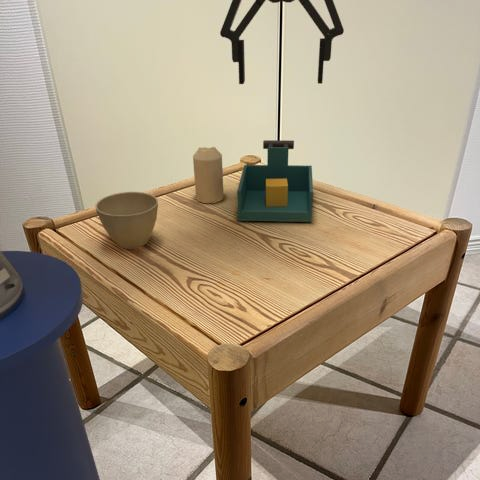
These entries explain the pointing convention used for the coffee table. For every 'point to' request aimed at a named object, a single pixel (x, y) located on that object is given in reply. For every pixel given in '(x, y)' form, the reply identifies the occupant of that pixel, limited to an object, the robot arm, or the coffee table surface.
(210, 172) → the candle
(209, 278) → the coffee table surface
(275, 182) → the block
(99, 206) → the beige bowl
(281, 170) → the dustpan
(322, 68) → the robot arm
